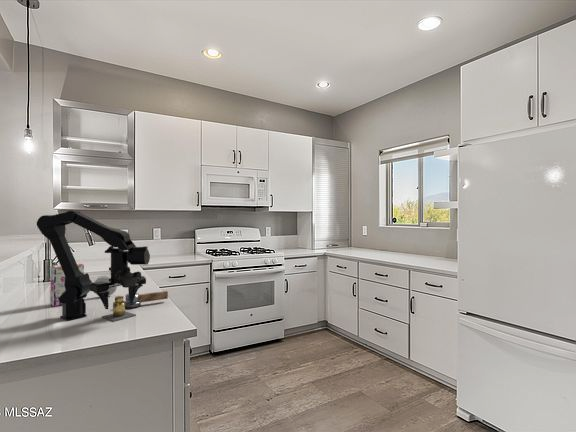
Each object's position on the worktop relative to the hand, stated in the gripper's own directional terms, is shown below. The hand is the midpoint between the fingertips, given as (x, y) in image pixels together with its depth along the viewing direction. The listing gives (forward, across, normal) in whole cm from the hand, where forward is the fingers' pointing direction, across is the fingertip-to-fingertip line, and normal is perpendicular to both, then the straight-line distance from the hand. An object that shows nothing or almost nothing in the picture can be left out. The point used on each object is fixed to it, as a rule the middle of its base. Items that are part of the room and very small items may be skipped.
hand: (119, 306), depth 123 cm
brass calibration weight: (+3, 0, 0) cm, 3 cm away
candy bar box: (+4, -3, +35) cm, 35 cm away
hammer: (+3, +15, +6) cm, 17 cm away
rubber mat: (+4, 0, 0) cm, 4 cm away
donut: (+4, +12, +33) cm, 35 cm away
